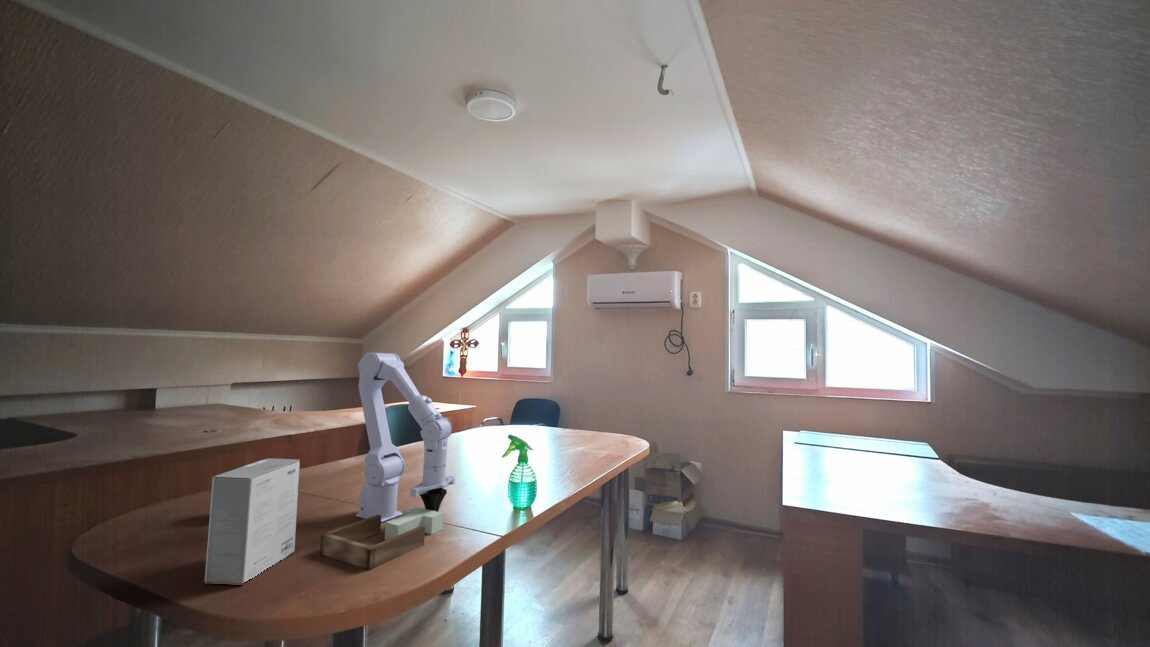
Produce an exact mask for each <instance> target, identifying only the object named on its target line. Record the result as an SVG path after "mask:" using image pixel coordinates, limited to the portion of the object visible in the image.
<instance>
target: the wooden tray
mask: <svg viewBox="0 0 1150 647" xmlns="http://www.w3.org/2000/svg"><path fill="white" fill-rule="evenodd" d="M381 524H382V522H381V515H375V516H372V517H369V518H366V519H364V518H363V519H362V520H358V521H356V522H353V523H350V524H348V525H344V526H342V527H338V528H336V529H335V528H334V529H333V530H331V531H327V532H324V533H322V534H320V541H319V554H320V555H324V556H325V557H329V558H332V559H336V560H338V561H340V562H341V561H342V562H345V563H348V564H350V565H353V566H357V567H359V568H362V569H365V570H369V571H371V570H373V569H375V568H377V567H379V566H382V565H383V564H385V563H388V562H390V561H392V560H394V559H396V558H398V557H400V556H402V555H404V554H407V553H408V552H411V551H413V550H415V549H417V548H419V547H422V546H423V545H425V534H426V533H425V526H419V527H417V528H414V529H412V530H409V531H407V532H405V533H402V534H400V535H398V536H395V537H393V538H390V539H388V540H384V541H382V542H378V543H376V544H374V545H368V544H365V543H361V542H359V541H361V540H363V539H366V538H369V537H372V536H374V535H376V534H379V533H381V526H382V525H381Z"/></svg>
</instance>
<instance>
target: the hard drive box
mask: <svg viewBox="0 0 1150 647" xmlns="http://www.w3.org/2000/svg"><path fill="white" fill-rule="evenodd" d="M300 462H301V461H300V459H293V458H273V457H271V458H265V459H261V460H258V461H255V462H252V463H249V464H246V465H244V466H241V467H238V468H237V467H236V468H234V469H232V470H229V471H226V472H222V473H220V474H217V475H215V476H212V481H211V482H212V483H211V495H210V509H209V519H208V520H209V521H208V535H207V544H206V545H207V547H206V555H205V556H206V557H205V558H206V559H205V573H204V582H205V581H211V582H222V583H225V582H233V583H244V582H246V581H248V580H249V579H252V578H253V579H255V578H256V577H255V576H257V575H258V574H259V575H260V573H261V572H262V573H264V572H265V571H267V570H268V569H270V568H271V567H273V566H275V565H276V564H277V563H279V562H281V561H282V560H284V559H286V558H287V557H288V556H289V555H292V554H293V553H294V552H295V547H296V534H297V533H296V530H297V515H298V514H297V513H298V497H299V480H300V479H299V478H300V464H301V463H300ZM280 560H281V561H280ZM272 565H273V566H272ZM269 567H270V568H269ZM267 568H268V569H267ZM266 569H267V570H266ZM264 570H265V571H264ZM263 571H264V572H263ZM262 573H261V574H262ZM259 575H258V576H259ZM258 576H257V577H258ZM254 577H255V578H254ZM253 579H252V580H253ZM248 582H249V581H248Z"/></svg>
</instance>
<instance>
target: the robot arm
mask: <svg viewBox="0 0 1150 647" xmlns="http://www.w3.org/2000/svg"><path fill="white" fill-rule="evenodd" d="M357 366H358V372H359V377H358V378H359V380H358V391H359V397H360V402H361V408H362V411H363V412H362V413H363V418H364V422H365V427H366V434H367V438H368V444H369V448H370V449H369V451H368V452H367V454H366V455H365V457H364V470H363V475H364V478H365V480H366V481H365V482H364V484H362V486H361V489H360V492H359V500H358V502H359V504H358V513H356V514H355V517H357V518H361V519H363V520H364V519H366V518H369V517H372V516H375V515H381V523H383V522H387V521H390V520H393V519H396V518H398V517H401V516H402V511H399V510H397V509H398V508H397V506H398V493H399V492H398V491H399V490H398V489H399V481H400V480H401V478H400V477H401V476H402V475H403V473H405V469H406V463H405V459H404V458H403V457H402V455H401V453H400V449H399V448H398V447H397V446H396V445H394V444H393V441H392V438H391V433H390V428H389V423H388V417H387V413H386V412H387V411H386V408H385V402H384V398H383V393H382V388H383V386H384V385H385V384H386V382H388V381H390V382H391V383H393V385H394V386H395V387H396V388H397V389H398V391H399V392H400V393H401V395H403V397H404V398H405V400H406V401H408V406H407V409H408V410H407V411H409V413H410V414H411V415H412V417H413V418H414V420H415V421H416V423H417V424H418V426H419V427H420V428H421V429H422V430H421V429H420V435H421V438H422V440H423V447H424V451H423V466H422V480H421V482H419V483H418V484H417V485H415V486H413V487H411V488H410V489H409V490H410V491H409V496H410V497H413V498H418V497H419V496H420V498H421V500H422V503H423V505H424V509H428V510H432V511H437V512H440V511H439V510H440V507H441V505H442V502H443V500H444V498H445V497H446V495H447V492H448V490H447V489H446V488H447V487H448V486H450V485H451V486H452V485H455V482H456V477H455V476H451V475H448V476H446V472H447V471H446V470H447V457H448V441H449V440H448V438H450V436H451V435H452V432H453V424H452V423H451V420H450V419H449V418H448V417H444V416H443V415H442V414H441V412H439V410H437V408H436V406H434V404H433V403H432V402H433V400H432V398H430V397H428V396H427V395H421V394H420V392H419V390H418V389H417V387H416V385H415V384H414V383H413V381H412V379H411V377H410V376H409V373H407V371H406V370H405V363H404V362H403V361H402V360H401V358H400V357H399V355H398V354H396V353H394V352H388V353H386V352H372V351H371V352H366V353H365V354H364V355H363V356H362V357H361V359H360V360H359V362H357Z"/></svg>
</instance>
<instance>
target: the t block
mask: <svg viewBox="0 0 1150 647" xmlns="http://www.w3.org/2000/svg"><path fill="white" fill-rule="evenodd" d="M401 512H402V515H400V516H397V517H395V518H392V519H389V520H387V521H385V528H384V529H385V530H384V541H386V540H388V539H390V538H393V537H395V536H398V535H400V534H402V533H405V532H407V531H409V530H412V529H414V528H417V527H419V526H425V534H429V535H433V534H436V533H438V532H440V531H442V530H444V529H443V528H444V512H440V511H438V512H437V511H432V510H428V509H425V508H424V507H423V508H422V507H419V506H414V505H413V506H411V507H409V508H406V509H403V510H401Z"/></svg>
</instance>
